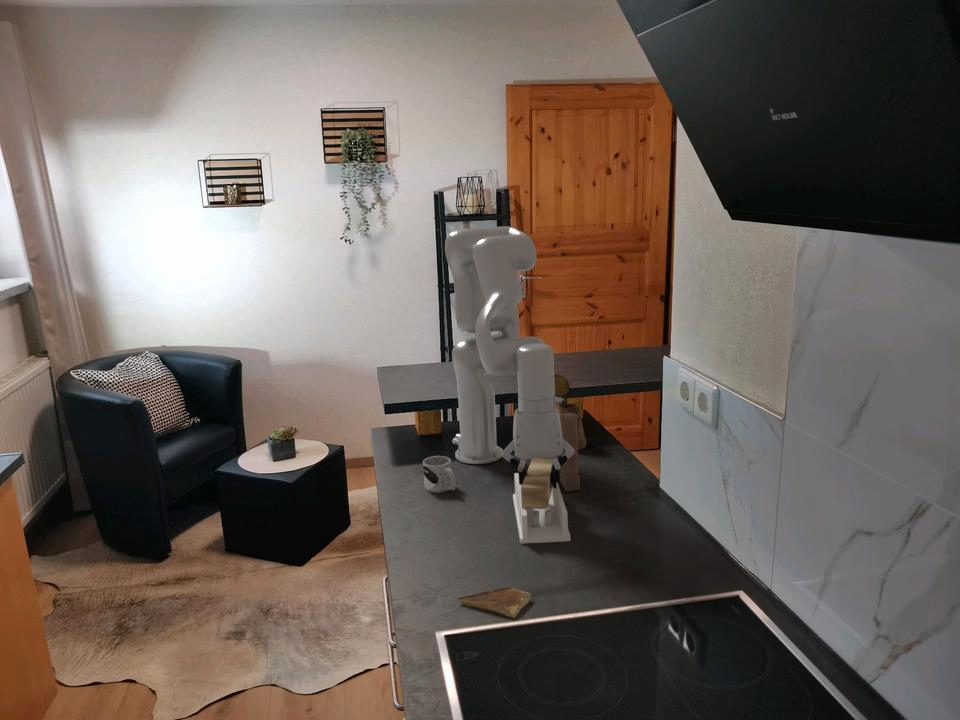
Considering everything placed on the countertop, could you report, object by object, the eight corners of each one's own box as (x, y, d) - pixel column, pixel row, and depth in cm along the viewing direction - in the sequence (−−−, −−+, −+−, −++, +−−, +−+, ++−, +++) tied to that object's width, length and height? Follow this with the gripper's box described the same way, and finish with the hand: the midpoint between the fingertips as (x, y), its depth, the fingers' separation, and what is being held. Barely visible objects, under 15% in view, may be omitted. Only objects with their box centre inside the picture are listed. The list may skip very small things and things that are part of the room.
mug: (419, 487, 179) (417, 461, 177) (441, 479, 183) (440, 453, 181) (443, 499, 171) (442, 472, 170) (466, 491, 175) (465, 464, 174)
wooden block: (569, 473, 183) (568, 403, 179) (580, 490, 173) (579, 416, 168) (555, 474, 183) (553, 404, 178) (564, 492, 172) (563, 417, 168)
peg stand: (570, 541, 149) (570, 513, 148) (520, 543, 149) (519, 515, 147) (556, 495, 170) (556, 471, 169) (512, 498, 170) (512, 473, 169)
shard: (457, 606, 129) (457, 596, 128) (479, 584, 135) (479, 575, 135) (513, 622, 123) (513, 612, 123) (533, 599, 130) (533, 590, 129)
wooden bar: (532, 477, 166) (532, 458, 165) (555, 478, 165) (554, 459, 164) (521, 507, 151) (521, 487, 150) (546, 509, 150) (545, 488, 149)
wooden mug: (571, 432, 212) (570, 371, 208) (591, 448, 199) (590, 383, 195) (542, 436, 210) (540, 375, 205) (560, 452, 197) (558, 387, 193)
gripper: (575, 397, 157) (577, 477, 161) (494, 401, 157) (497, 481, 161) (581, 407, 150) (582, 491, 154) (495, 411, 150) (499, 495, 154)
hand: (539, 485), depth 158 cm, fingers closed on wooden bar, 5 cm apart
